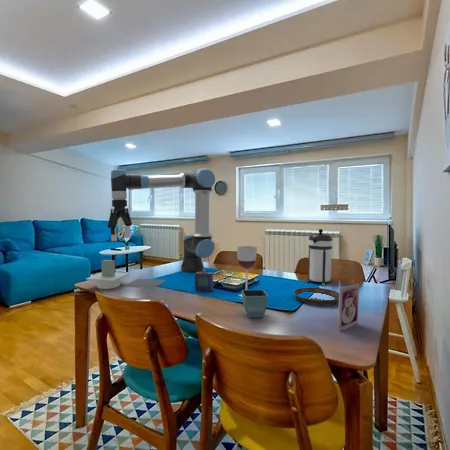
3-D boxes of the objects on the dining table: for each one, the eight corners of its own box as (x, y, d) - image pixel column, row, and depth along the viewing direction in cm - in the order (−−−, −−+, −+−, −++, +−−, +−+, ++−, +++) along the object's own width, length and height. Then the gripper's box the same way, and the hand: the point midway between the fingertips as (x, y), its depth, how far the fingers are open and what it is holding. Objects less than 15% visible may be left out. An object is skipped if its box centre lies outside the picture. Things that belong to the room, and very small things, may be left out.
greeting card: (341, 332, 100) (343, 288, 99) (322, 325, 106) (324, 283, 105) (359, 324, 107) (361, 283, 106) (341, 318, 113) (342, 279, 112)
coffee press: (339, 286, 159) (341, 230, 157) (309, 285, 159) (310, 229, 157) (328, 278, 176) (330, 227, 174) (301, 278, 176) (302, 227, 174)
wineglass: (258, 294, 143) (258, 246, 141) (253, 300, 133) (254, 249, 132) (239, 292, 146) (240, 245, 144) (233, 298, 136) (234, 248, 135)
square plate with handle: (129, 274, 160) (128, 258, 159) (113, 281, 145) (113, 263, 145) (104, 273, 163) (103, 257, 162) (86, 279, 148) (85, 262, 148)
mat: (166, 281, 167) (166, 280, 167) (153, 289, 150) (153, 288, 150) (138, 279, 170) (138, 278, 170) (122, 287, 153) (122, 286, 153)
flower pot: (241, 311, 119) (241, 289, 118) (262, 311, 119) (263, 289, 119) (244, 320, 110) (244, 296, 109) (267, 319, 111) (268, 296, 110)
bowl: (123, 284, 159) (123, 275, 158) (112, 290, 148) (112, 280, 148) (105, 283, 161) (105, 274, 160) (92, 288, 150) (92, 278, 150)
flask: (213, 289, 150) (213, 268, 149) (212, 291, 147) (212, 270, 146) (195, 289, 150) (194, 268, 149) (194, 291, 147) (194, 269, 147)
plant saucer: (285, 295, 141) (285, 288, 141) (321, 291, 148) (321, 285, 148) (311, 310, 122) (311, 302, 122) (351, 305, 129) (352, 297, 129)
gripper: (124, 199, 170) (126, 236, 172) (98, 199, 146) (100, 242, 147) (137, 199, 169) (138, 236, 170) (112, 199, 144) (114, 242, 146)
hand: (121, 239), depth 159 cm, fingers open, 13 cm apart
